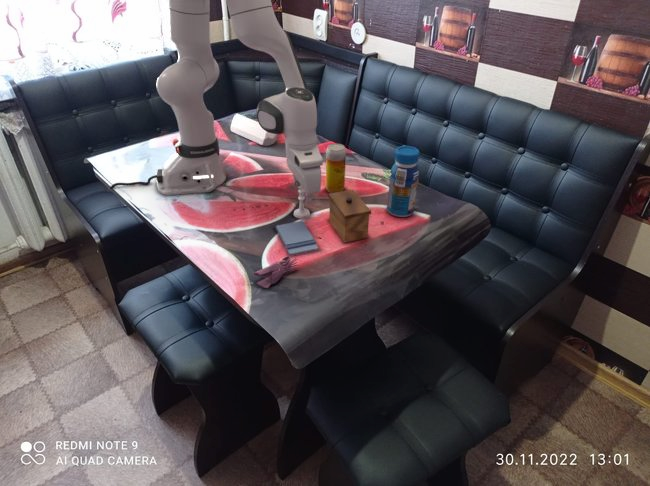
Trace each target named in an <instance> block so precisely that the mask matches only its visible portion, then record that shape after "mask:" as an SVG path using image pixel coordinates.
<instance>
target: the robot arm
mask: <svg viewBox="0 0 650 486" xmlns="http://www.w3.org/2000/svg"><path fill="white" fill-rule="evenodd" d="M210 3H211V1H210V0H167V21H168V23H167V24H168V37H169V39H170V41H172V42H173V43H174V44H175V48H176V52H177V56H178V58H177V62H175V63H173V64H171V65H169V66H167V67H166V68H165V69H164V70H163V71H162V72H161V74H160V75H159V76H158V77H157V80H156V83H155V84H156V91H157V93H158V95H159V98H160V99H161V100H162V101H163V102H164V103H166V104H167V105H169V106H170V108H171V110H172V111H173V113H174V116H175V119H176V121H177V127H178V133H179V138H180V140H179V139H178V138H174V139H172V145H173V146H174V147H175V149H174V150H175V153H174V154H172V155H171V156H170V157H169V158H168V159H166V160H165V161H164V163H163V165H162V168H158V169H157V172H156V174H155V175H151V176H150V177H148V178H147V181H146V182H145V181H134V182H133V181H132V182H115V183H113V184H112V185H110V187H109V189H110V190H112V189H114V188H115V187H117V186H126V187H127V186H129V187H130V186H136V185H142V186H143V185H144V186H147V185H149V184H151V181H152V180H153V179H156V187H157V190H158V191H159V193H161V194H162V195H165V196H169V195H170V196H171V195H172V196H173V195H183V194H185V195H186V194H200V193H210V192H212V191H214V190H215V189H216V188H217V187H219V186H220V185H222V184H223V183H224V182H225V181H226V180H227V176H226V173H225V171H224V168H223V166H222V162H221V157H220V152H221V151H220V144H219V139H218V137H217V133H216V126H215V117H214V114H213V113H212V112H211V111H210V110H209V109H207V106H206V104H205V101H204V93H206V92H207V91H209V90H210V89H212V88H213V86H214V85H215V84H216V82H217V81H218V80H219V77H220V67H219V64H218V62H217V61H216V59H215V58H214V56H213V55H214V54H213V51H212V45H211V37H210V35H211V34H210V31H211V29H210V28H211V27H210V25H211V24H210V22H211V21H210V20H211V19H210V17H211V15H210V14H211V13H210V11H211V10H210V9H211V7H210V5H211V4H210ZM225 3H226V5H227V9H228V13H229V18H230V21H231V24H232V29H233V31H234V34H235V35H236V36H235V37H236V38H237V39H238V41H239V42H241V43H242V44H243V45H244V46H245V47H247V48H249V49H252V50H255V51H259V52H263V53H265V54H268V55H270V56H271V57H272V58H273V59H274V60H275V63H276V64H277V67H278V69H279V72H280V75H281V77H282V80H283V82H284V86H285V91H284V92H281V93H278V94H274V95H270V96H268V97H266V98H264V99H262V100H260V101H259V102H258V104H257V106H256V113H255V114H256V120H257V122H258V123H259V125H260V126H261V128H262V129H264V130H265V131H267V132H269V133H273V134H276V135H283V136H284V137H285V138H284V144H285V157H286V166H287V167H288V169H289V171H290V172H291V174H292V178H293V181H294V182H293V183H294V187H296V188H297V189H298V187H299V186H302V187H303V188H302V189H303V190H305V194H304V197H305V199H304V201H305V202H306V203H311V202H313V195H315V194H318V193H319V194H320V191H321V189H322V168H321V167H322V166H323V165H324V159H323V157H322V154H321V152H320V148H319V143H318V135H317V126H318V108H317V103H316V98H315V96H314V94H313V92H312V91H311V90H310V88H309V85H308V83H307V81H306V78H305V75H304V72H303V70H302V67H301V64H300V61H299V57H298V56H297V53H296V50H295V46H294V45H293V42H292V40H291V38H290V36H289V34H288V33H287V31H286V30H285V29H284V28H283V27H282V26H281V24H280V23H279V21H278V19H277V16H276V14H275V10H274V7H273V3H272V0H225Z"/></svg>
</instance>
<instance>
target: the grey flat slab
mask: <svg viewBox="0 0 650 486" xmlns="http://www.w3.org/2000/svg"><path fill="white" fill-rule="evenodd" d="M275 230H276V232H277V234H278V236H279V238H280V240H281V242H282V243H283V245H284V247H285V250H286V251H287V254H288V256H289V257H291V256H292V257H294V256H298V255H303V254H308V253H313V252H317V251H319V246H318V245H317V241H316V240H315V237H313V235H312V234H311V231H310V230H309V228H308V227H307V225H306V223H305V222H304V220H299V221H293V222H288V223H283V224H278V225H276V226H275Z"/></svg>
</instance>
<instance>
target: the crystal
mask: <svg viewBox="0 0 650 486" xmlns="http://www.w3.org/2000/svg"><path fill="white" fill-rule="evenodd" d="M230 132H232V133H234V134H237V135H238V136H241V137H243V138H245V139H248V140H250V141H252V142H254V143H256V144H259V145H261V146H265V147H269V146H272V145H274V144H275V143H276V141H277V140H278V134H273V133H269V132H267V131H265V130H264V129H262V128H261V126H260V125H259V123H258V121H256V120H254V119H252V118H250V117H249V118H248V116H244V115H241V114H239V113H235V114H234V115H233V117H232V121H231V123H230Z"/></svg>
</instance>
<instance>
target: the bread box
mask: <svg viewBox="0 0 650 486" xmlns="http://www.w3.org/2000/svg"><path fill="white" fill-rule="evenodd" d="M327 195H328V198H329V205H328V206H329V210H328V211H329V212H328V214H329V217H328V221H329V223H330V224H331V226H332V227H333V229H334V230H335V231H336V233H337V234H338V235H339V237H340V238H341V240H342V241H343V243H349V242H354V241H359V240H363V239H368V236H369V222H370V215H371V214H372V209H370V208H369V207H368V205H367V204H366V203H365V202H364V201H363V200H362V198H361V197H360V196H359V195H358V193H356V191H355V190H354V189H348V190H343V191H341V192H336V193H330V192H329V193H328V194H327Z"/></svg>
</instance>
